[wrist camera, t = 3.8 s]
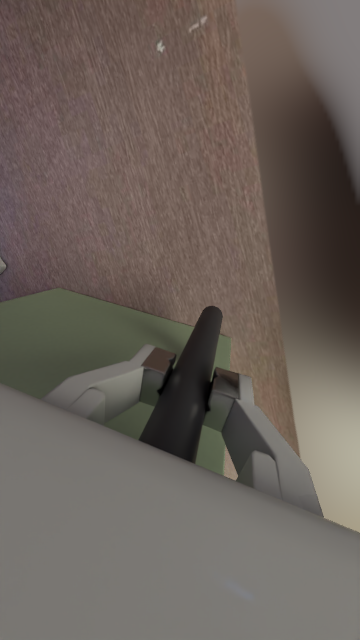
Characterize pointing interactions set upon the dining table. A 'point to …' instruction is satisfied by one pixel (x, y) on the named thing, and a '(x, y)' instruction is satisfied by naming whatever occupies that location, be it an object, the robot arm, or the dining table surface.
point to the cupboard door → (113, 347)
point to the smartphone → (2, 266)
